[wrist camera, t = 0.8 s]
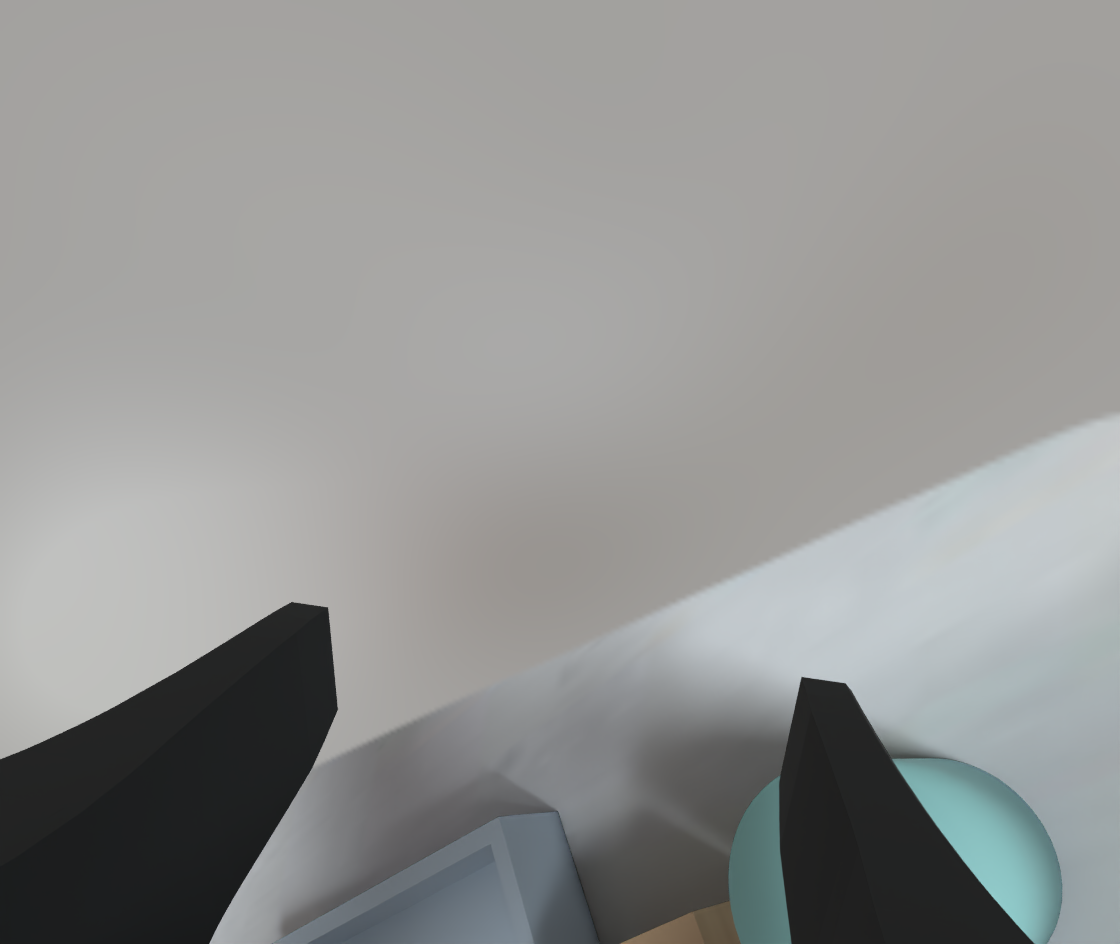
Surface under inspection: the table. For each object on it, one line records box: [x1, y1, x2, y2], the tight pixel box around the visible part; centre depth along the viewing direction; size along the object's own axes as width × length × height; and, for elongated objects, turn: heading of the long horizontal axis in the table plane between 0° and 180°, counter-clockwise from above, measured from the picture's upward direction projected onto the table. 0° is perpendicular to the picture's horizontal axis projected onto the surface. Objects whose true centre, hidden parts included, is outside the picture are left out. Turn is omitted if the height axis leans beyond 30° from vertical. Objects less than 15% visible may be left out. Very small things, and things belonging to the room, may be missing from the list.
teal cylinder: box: [728, 758, 1062, 944], centre depth 18 cm, size 5×5×7 cm
